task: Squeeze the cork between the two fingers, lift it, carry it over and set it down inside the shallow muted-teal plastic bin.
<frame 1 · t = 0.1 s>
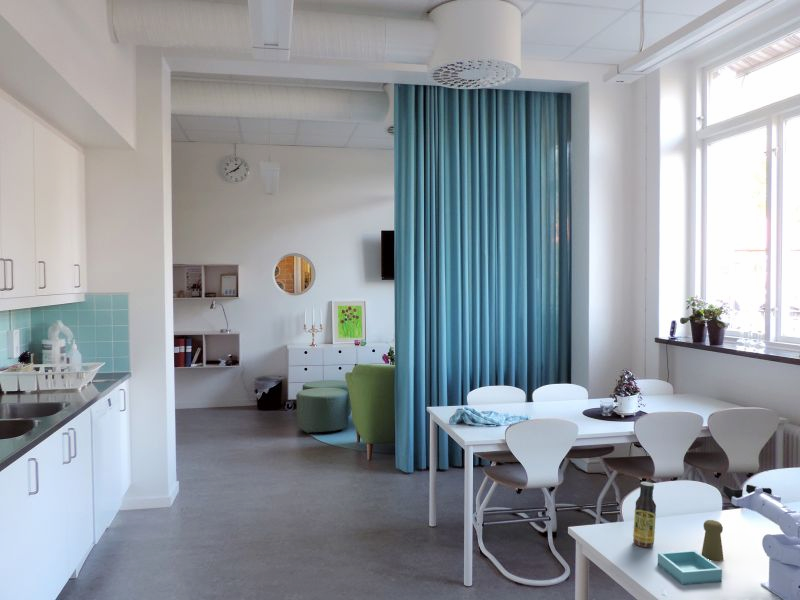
hand: (735, 488, 181), 22 cm above the table, tool horizontal, fingers open, 7 cm apart
sauce bottle: (644, 545, 191), on the table
teal bin: (688, 572, 172), on the table
cork: (712, 557, 182), on the table
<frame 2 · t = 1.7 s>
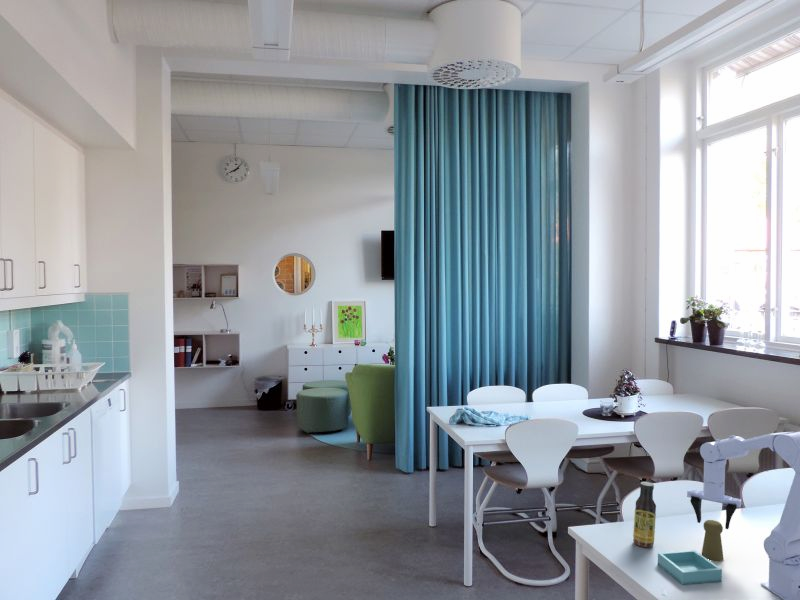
hand: (713, 524, 182), 10 cm above the table, tool pointing down, fingers open, 7 cm apart
nothing on the table moved.
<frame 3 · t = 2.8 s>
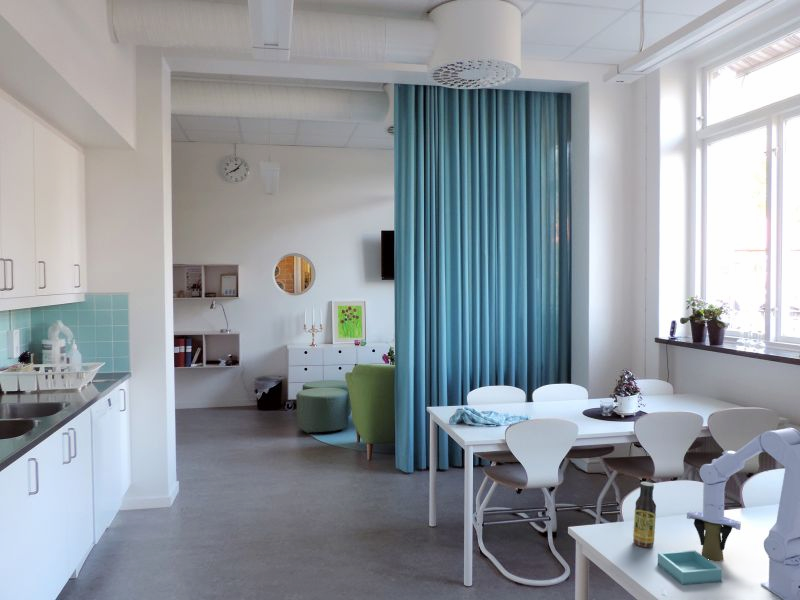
hand: (712, 546, 182), 3 cm above the table, tool pointing down, fingers closed on cork, 5 cm apart
cork: (712, 557, 182), on the table, touching gripper
everything else where it was.
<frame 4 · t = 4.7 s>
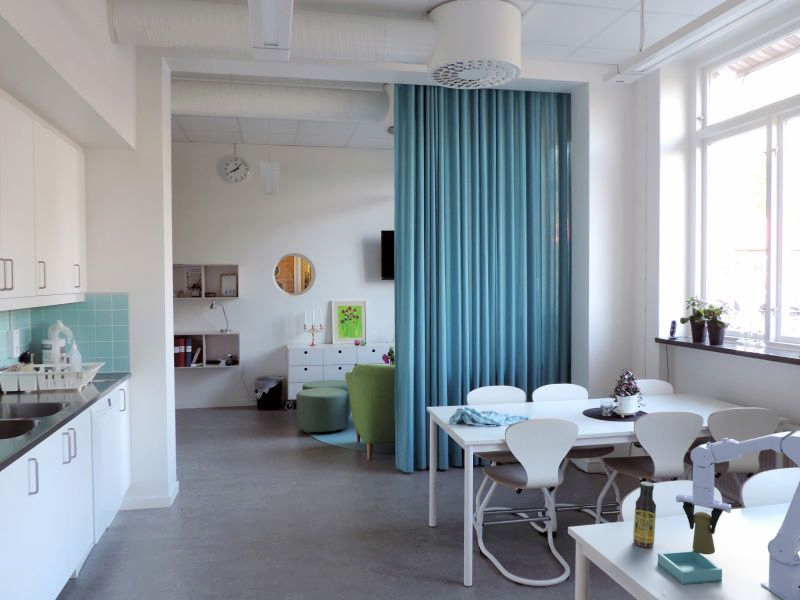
hand: (702, 530, 177), 10 cm above the table, tool pointing down, fingers closed on cork, 5 cm apart
cork: (703, 549, 178), point 4 cm above the table, touching gripper
everything else where it was.
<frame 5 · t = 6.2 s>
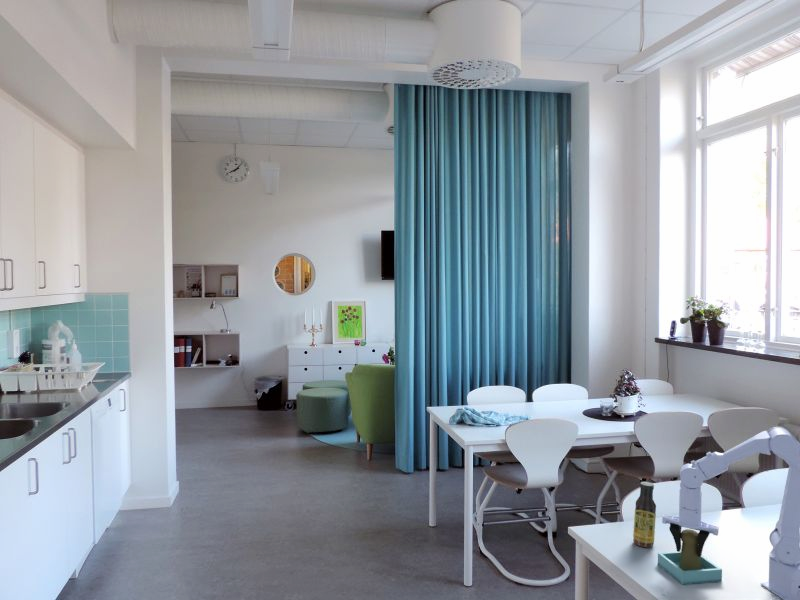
hand: (689, 552, 172), 6 cm above the table, tool pointing down, fingers closed on cork, 5 cm apart
cork: (690, 568, 174), point 1 cm above the table, touching gripper, teal bin
everything else where it was.
when the fingers open (6 cm above the table, at t = 6.5 s): cork stays where it is, resting on teal bin.
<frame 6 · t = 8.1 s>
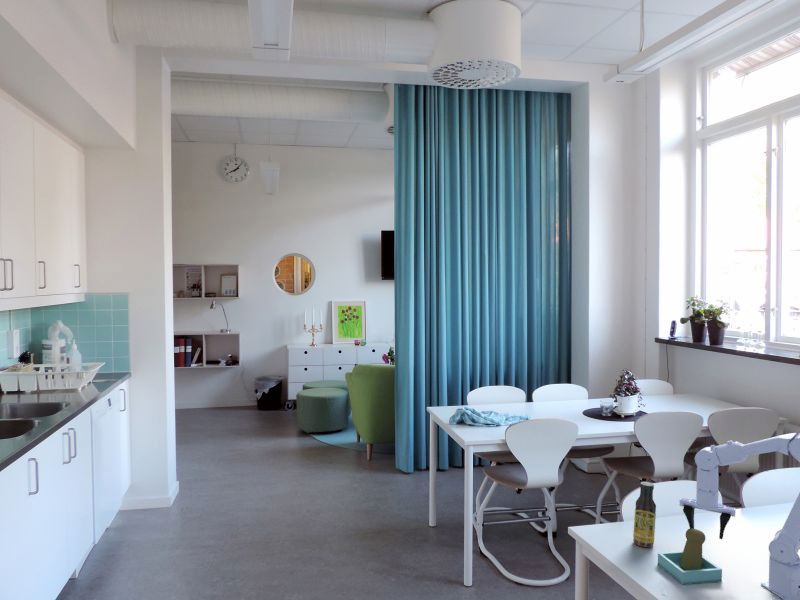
hand: (706, 534, 175), 10 cm above the table, tool pointing down, fingers open, 7 cm apart
cork: (690, 567, 174), point 1 cm above the table, touching teal bin
everything else where it was.
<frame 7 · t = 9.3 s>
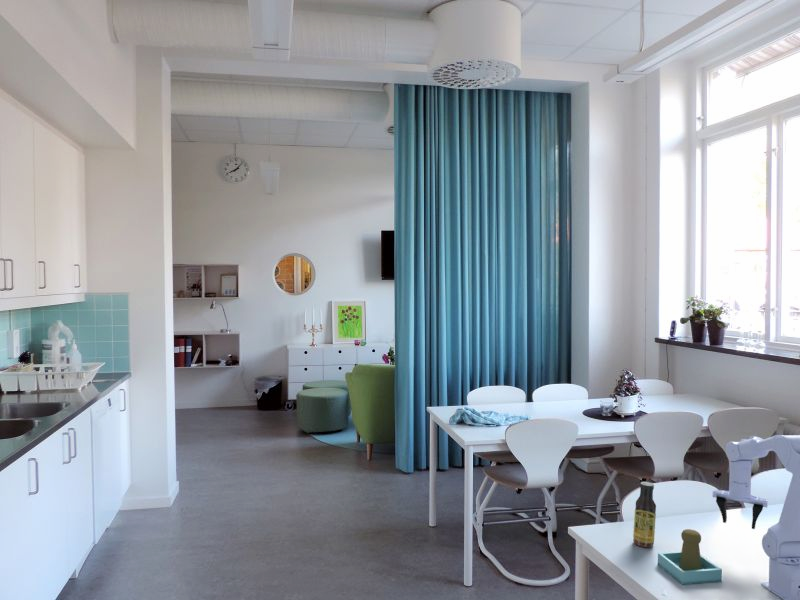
hand: (738, 524, 182), 10 cm above the table, tool pointing down, fingers open, 7 cm apart
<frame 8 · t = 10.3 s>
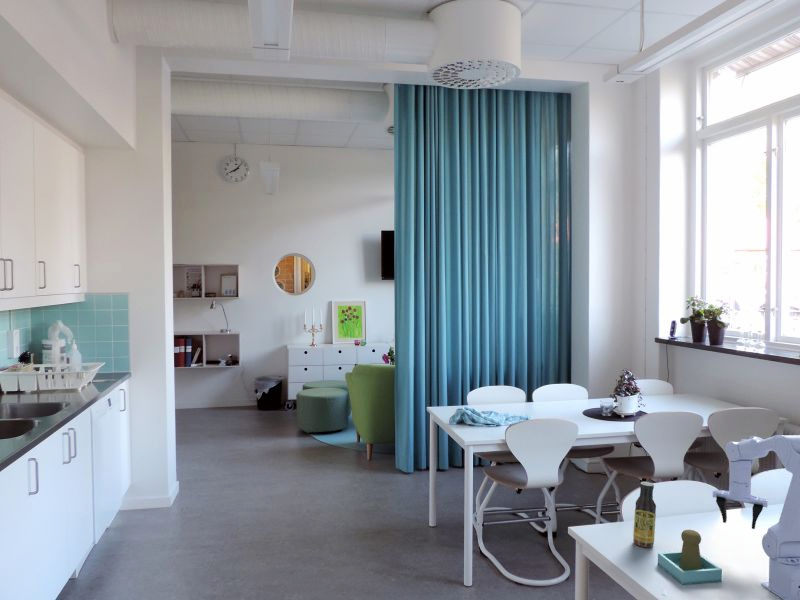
hand: (738, 524, 182), 10 cm above the table, tool pointing down, fingers open, 7 cm apart
nothing on the table moved.
at the end: cork 1.7 cm off-centre on the teal bin, point 0.4 cm above the teal bin's base; cork tilted 0°; the gripper is holding nothing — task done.
